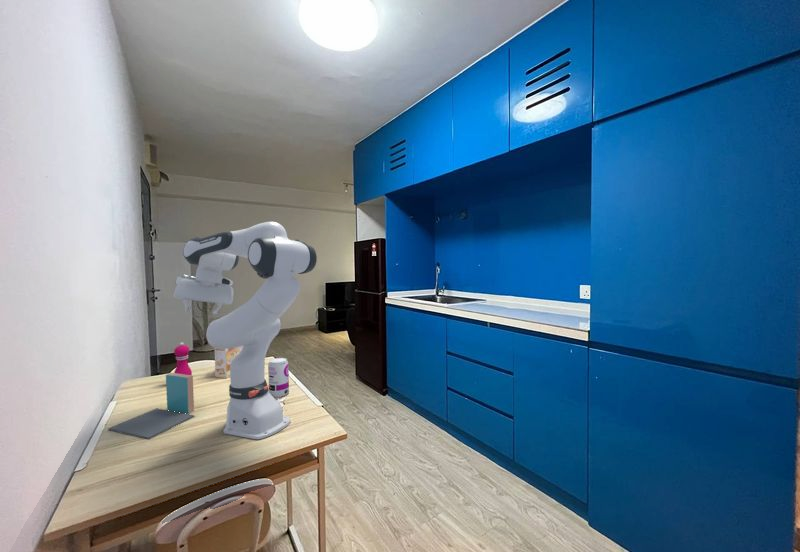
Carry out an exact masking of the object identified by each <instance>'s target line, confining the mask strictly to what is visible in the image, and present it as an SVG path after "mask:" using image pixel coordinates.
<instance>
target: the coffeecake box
mask: <svg viewBox="0 0 800 552" xmlns="http://www.w3.org/2000/svg"><path fill="white" fill-rule="evenodd" d="M242 348H243V346H240V347H236V348H231V349H215V348H214V373H215V375H214V376H215V378H218V379H228V378H230V364H231V362H232V360H233V359H234V358H235V357H236V356H237V355H238V354H239V353H240V352H241V350H242Z"/></svg>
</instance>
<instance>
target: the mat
mask: <svg viewBox="0 0 800 552" xmlns="http://www.w3.org/2000/svg"><path fill="white" fill-rule="evenodd" d="M194 418H195V415H194V414H191V413H189V414H185V413H179V412H174V411H168V410H167V409H162V408H157V407H156V408H154V409H151V410H149V411H146V412H145V413H142V414H140V415H137V416H135V417H132V418H130V419H128V420H125V421H123V422H121V423H117V424H115V425H113V426H111V427H109V428H108V431H112V432H117V433H121V434H123V435H124V434H125V435H128V434H129V436H133V437H137V438H140V439H141V438H142V439H147V440H151V439H152V438H155V437H157V436H159V435H160V434H163V433H164V432H167V431H168V430H171V429H172V427H173V428H175V427H177V426H179V425H181V424H184V423H185V422H187V421H189V420H191V419H194ZM178 424H179V425H178ZM176 425H177V426H176ZM174 426H175V427H174Z"/></svg>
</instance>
